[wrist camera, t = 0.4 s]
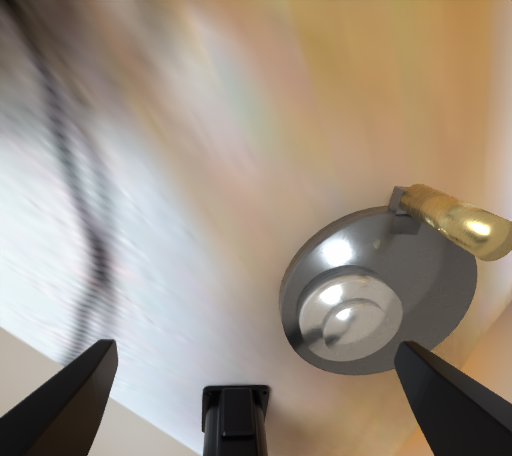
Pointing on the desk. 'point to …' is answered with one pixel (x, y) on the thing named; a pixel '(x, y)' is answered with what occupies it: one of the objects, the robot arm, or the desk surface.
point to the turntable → (402, 266)
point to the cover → (348, 313)
